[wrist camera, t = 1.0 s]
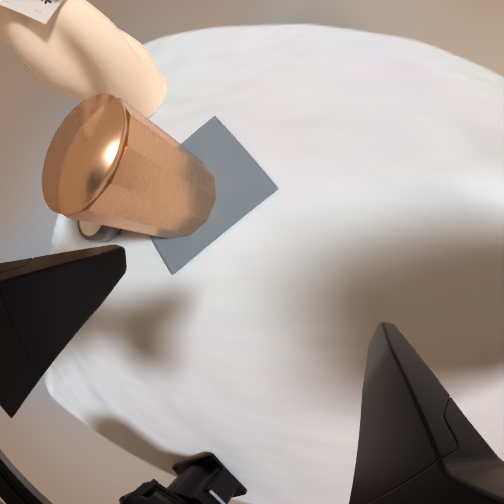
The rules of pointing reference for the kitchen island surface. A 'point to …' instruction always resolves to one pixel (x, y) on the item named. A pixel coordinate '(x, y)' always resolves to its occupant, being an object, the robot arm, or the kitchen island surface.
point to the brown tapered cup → (125, 172)
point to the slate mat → (218, 191)
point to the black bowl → (97, 231)
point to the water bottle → (81, 52)
